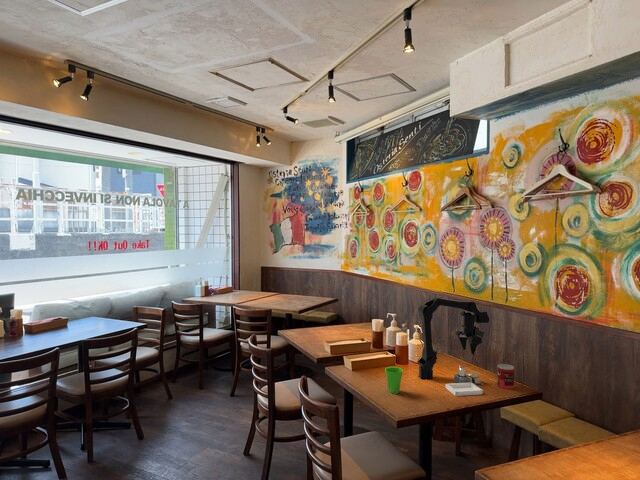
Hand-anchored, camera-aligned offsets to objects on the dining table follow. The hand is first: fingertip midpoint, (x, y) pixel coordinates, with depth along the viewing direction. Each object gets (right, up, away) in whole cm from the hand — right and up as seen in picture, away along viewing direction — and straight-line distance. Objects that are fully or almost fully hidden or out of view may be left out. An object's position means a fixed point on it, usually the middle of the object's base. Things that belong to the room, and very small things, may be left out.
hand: (468, 352), depth 225 cm
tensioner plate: (-4, -14, -11) cm, 18 cm away
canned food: (+13, -14, -17) cm, 25 cm away
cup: (-45, -14, -22) cm, 52 cm away
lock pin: (-7, -13, -11) cm, 19 cm away
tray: (-10, -14, -23) cm, 28 cm away
